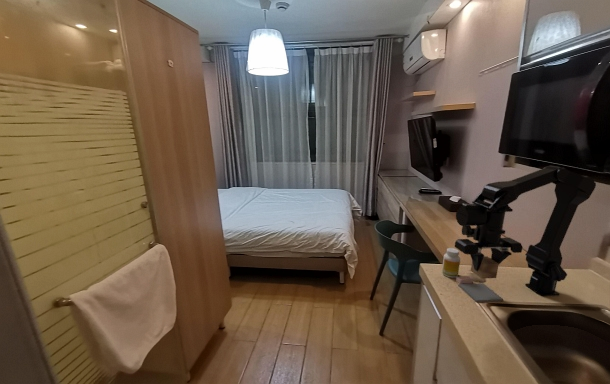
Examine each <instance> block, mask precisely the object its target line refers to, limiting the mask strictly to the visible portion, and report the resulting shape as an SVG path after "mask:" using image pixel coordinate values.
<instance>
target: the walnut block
mask: <svg viewBox="0 0 610 384" xmlns="http://www.w3.org/2000/svg"><path fill="white" fill-rule="evenodd" d="M499 266H500V264H499V263H497V262H495V261H494V260H492V259H491V257H489V256H488V255H487V256H485V255H484V257H483V260H482V262H481V265H480V268H479V270H478V271H476V270H475V269H474V266H473V262H472V261H471V266H470V271H471V273H474V274H476V275H477V276H478V277H480V278H481V279H485V280H486V279H496V278H497V275H498V271H499Z"/></svg>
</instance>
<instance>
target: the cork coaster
mask: <svg viewBox="0 0 610 384" xmlns="http://www.w3.org/2000/svg"><path fill="white" fill-rule="evenodd" d="M465 276H470V277H472V278H473V282H475V283H485V282H486V278H485V279H481V278H480V277H478V276H477V275H476V274H474V273H473V272H468V273H466V274H465Z"/></svg>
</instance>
